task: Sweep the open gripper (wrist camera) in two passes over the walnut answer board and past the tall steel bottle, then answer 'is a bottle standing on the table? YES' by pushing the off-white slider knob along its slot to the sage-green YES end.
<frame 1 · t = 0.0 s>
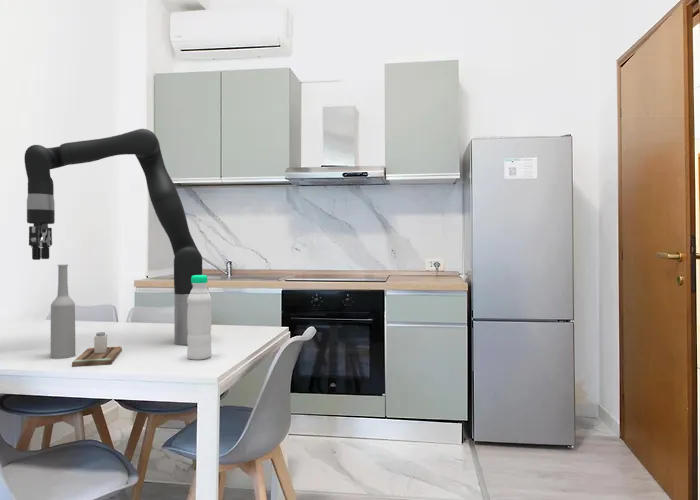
hand: (41, 259, 156), 29 cm above the table, fingers open, 8 cm apart
water bottle: (199, 358, 147), on the table
slider knob: (100, 342, 148), point 4 cm above the table, slide at -3.0 cm
answer board: (98, 358, 145), on the table
bottle: (63, 356, 148), on the table
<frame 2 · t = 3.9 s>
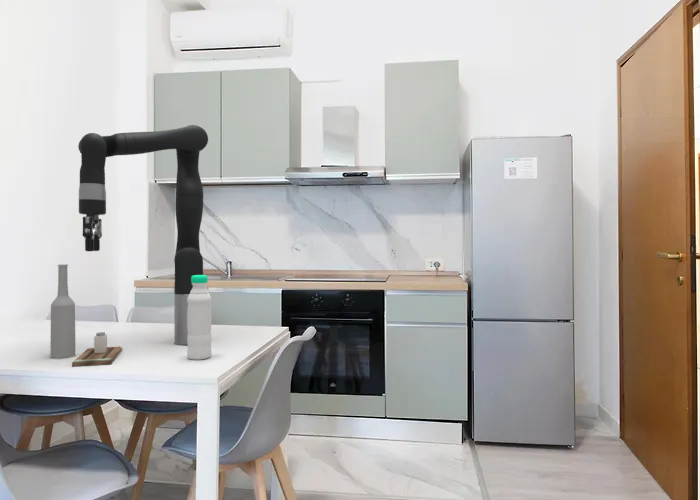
hand: (92, 251, 151), 32 cm above the table, fingers open, 8 cm apart
nothing on the table moved.
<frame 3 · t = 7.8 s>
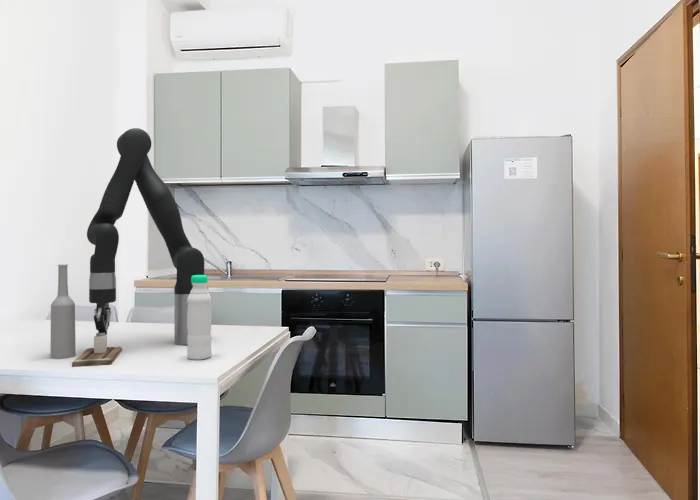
hand: (102, 342, 152), 4 cm above the table, fingers closed
slider knob: (100, 342, 148), point 4 cm above the table, slide at -2.8 cm, touching gripper
everything else where it was.
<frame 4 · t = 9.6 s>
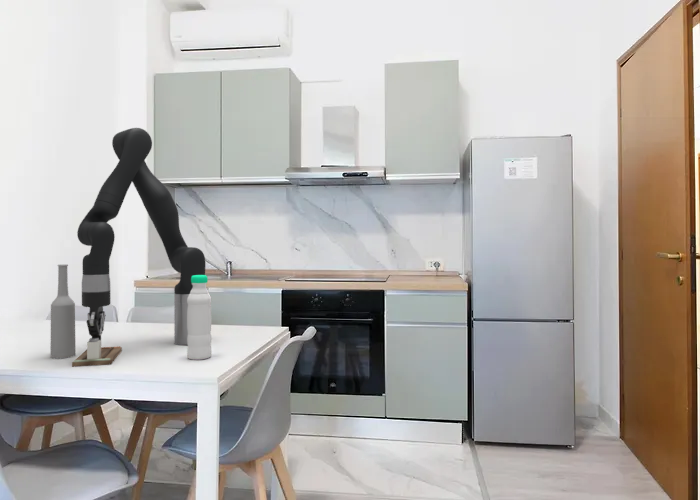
hand: (96, 348, 143), 4 cm above the table, fingers closed
slider knob: (94, 348, 139), point 4 cm above the table, slide at 6.1 cm, touching gripper
everything else where it was.
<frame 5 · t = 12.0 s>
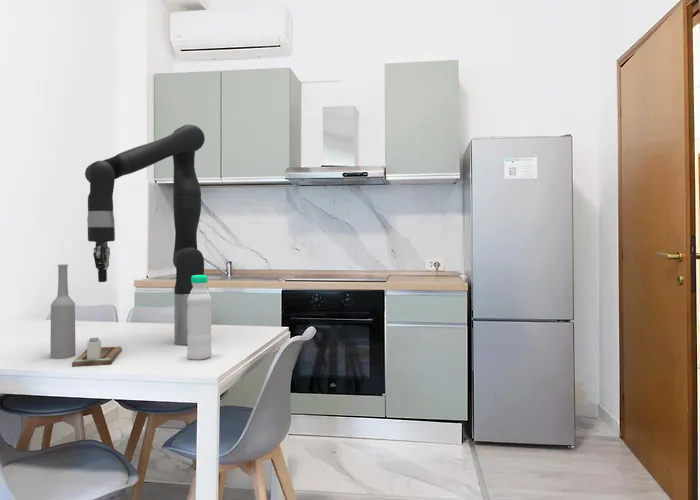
hand: (102, 281, 151), 23 cm above the table, fingers closed
slider knob: (94, 348, 140), point 4 cm above the table, slide at 6.0 cm
everything else where it was.
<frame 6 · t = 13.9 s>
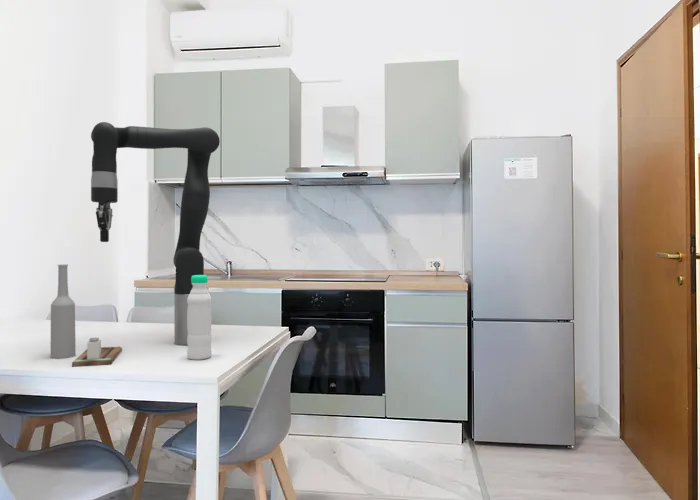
hand: (104, 241, 154), 35 cm above the table, fingers closed
nothing on the table moved.
at the end: slider knob slide at 6.0 cm; bottle tilted 0° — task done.
